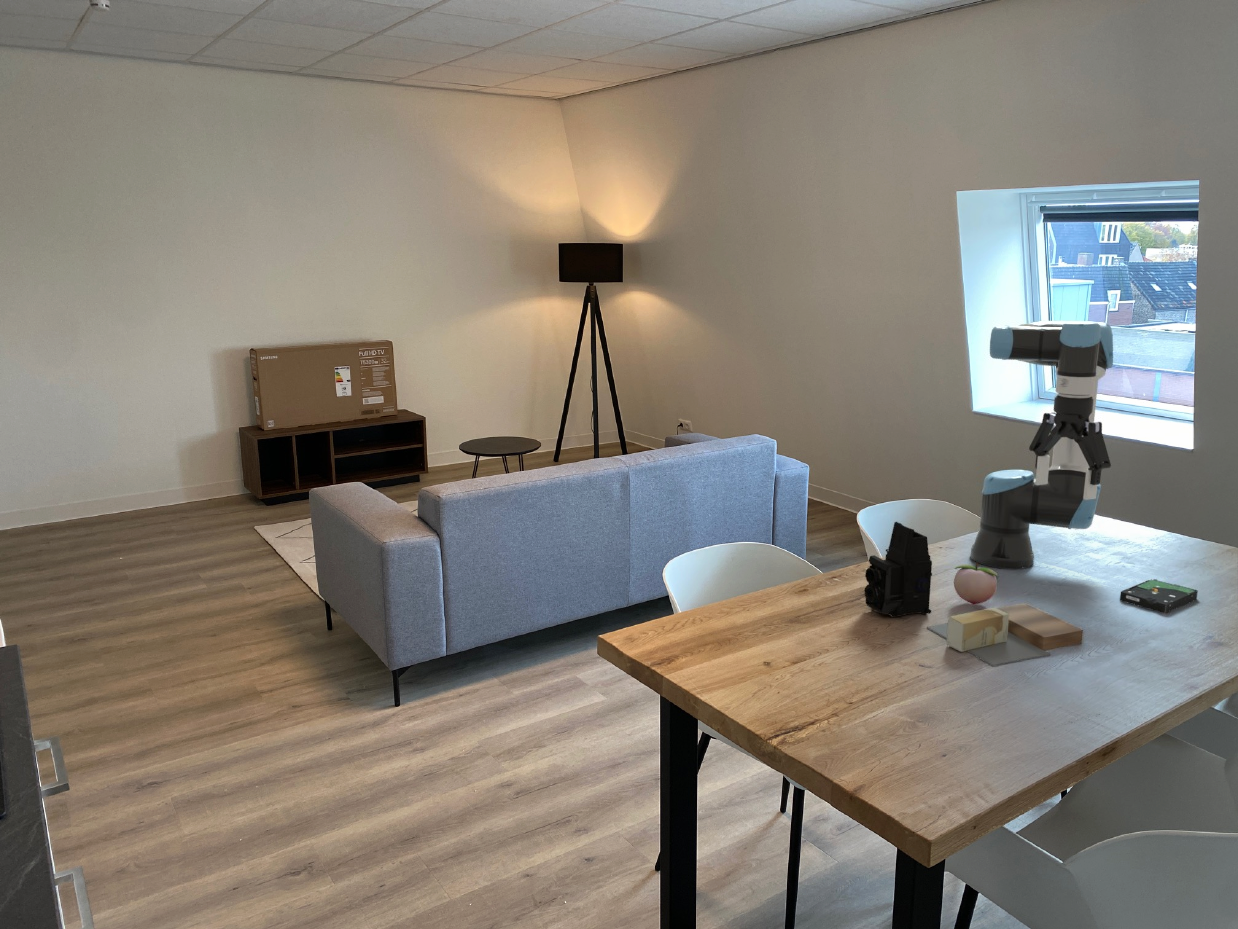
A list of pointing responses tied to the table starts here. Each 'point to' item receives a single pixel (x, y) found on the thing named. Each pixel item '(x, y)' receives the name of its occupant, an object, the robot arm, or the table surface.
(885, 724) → the table surface
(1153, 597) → the disk drive
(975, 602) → the decorative fruit
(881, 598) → the camera
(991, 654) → the rubber mat
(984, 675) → the table surface
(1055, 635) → the walnut ledge
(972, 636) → the skincare box
